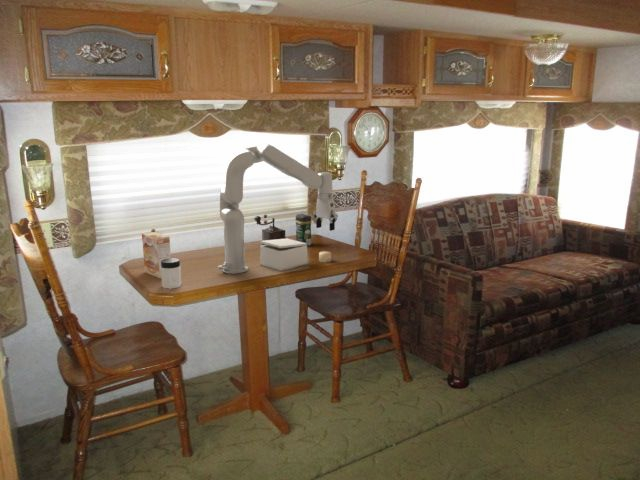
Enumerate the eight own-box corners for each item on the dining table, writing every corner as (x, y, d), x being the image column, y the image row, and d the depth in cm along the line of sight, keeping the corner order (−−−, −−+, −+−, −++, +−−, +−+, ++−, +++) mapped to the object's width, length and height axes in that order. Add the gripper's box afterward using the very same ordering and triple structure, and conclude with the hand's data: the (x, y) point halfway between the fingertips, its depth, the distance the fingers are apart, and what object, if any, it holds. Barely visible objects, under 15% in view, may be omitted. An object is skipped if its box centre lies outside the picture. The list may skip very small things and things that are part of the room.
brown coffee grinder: (276, 242, 326) (275, 213, 322) (286, 245, 318) (285, 215, 314) (253, 246, 317) (252, 216, 313) (263, 249, 309) (262, 218, 305)
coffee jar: (293, 244, 320) (293, 213, 316) (304, 242, 325) (304, 212, 321) (302, 247, 313) (302, 216, 308) (313, 245, 317) (313, 214, 313)
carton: (280, 271, 266) (280, 251, 263) (260, 264, 277) (259, 246, 275) (307, 264, 278) (307, 245, 276) (286, 258, 289) (286, 240, 287)
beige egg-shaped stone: (325, 263, 280) (325, 255, 279) (316, 261, 284) (316, 252, 283) (333, 261, 284) (333, 252, 283) (325, 258, 289) (325, 250, 288)
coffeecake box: (144, 272, 265) (141, 233, 261) (157, 269, 270) (154, 231, 265) (159, 278, 255) (156, 238, 250) (172, 275, 260) (170, 236, 255)
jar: (165, 290, 238) (163, 264, 235) (159, 285, 244) (157, 260, 242) (184, 286, 243) (183, 260, 240) (178, 282, 249) (176, 257, 247)
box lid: (280, 248, 263) (280, 245, 263) (260, 242, 274) (260, 240, 274) (307, 245, 276) (308, 243, 276) (287, 240, 287) (287, 238, 287)
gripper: (342, 197, 273) (342, 230, 277) (318, 193, 285) (319, 225, 289) (332, 198, 268) (332, 232, 272) (308, 195, 280) (308, 227, 284)
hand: (325, 228), depth 280 cm, fingers open, 9 cm apart
